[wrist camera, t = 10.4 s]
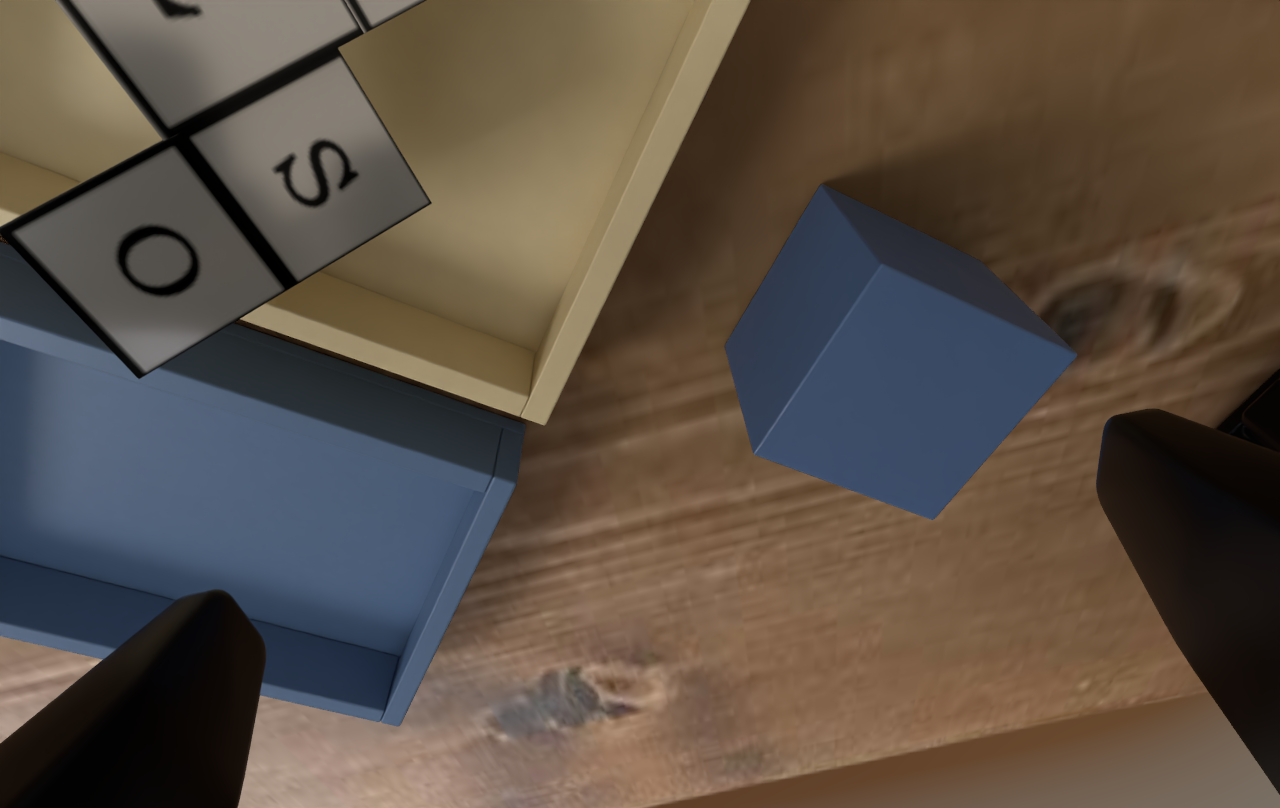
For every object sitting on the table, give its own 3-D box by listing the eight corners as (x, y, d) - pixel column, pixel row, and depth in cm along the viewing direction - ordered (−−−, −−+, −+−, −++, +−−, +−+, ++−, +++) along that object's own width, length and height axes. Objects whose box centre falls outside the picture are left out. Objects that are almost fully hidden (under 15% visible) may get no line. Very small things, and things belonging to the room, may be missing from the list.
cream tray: (752, -60, 14) (777, -53, 12) (551, 369, 19) (544, 426, 17) (-53, -517, 11) (-209, -617, 9) (-47, 148, 16) (-146, 185, 14)
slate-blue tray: (526, 423, 20) (517, 483, 18) (416, 659, 25) (399, 727, 23) (-46, 224, 17) (-139, 271, 15) (-44, 543, 22) (-112, 611, 20)
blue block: (981, 260, 18) (1079, 354, 14) (872, 406, 20) (933, 521, 17) (820, 182, 17) (881, 263, 13) (723, 345, 19) (752, 455, 15)
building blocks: (359, -174, 13) (-112, 47, 11) (431, -314, 9) (-322, 12, 7) (512, 123, 16) (151, 336, 14) (626, 131, 11) (120, 441, 10)
